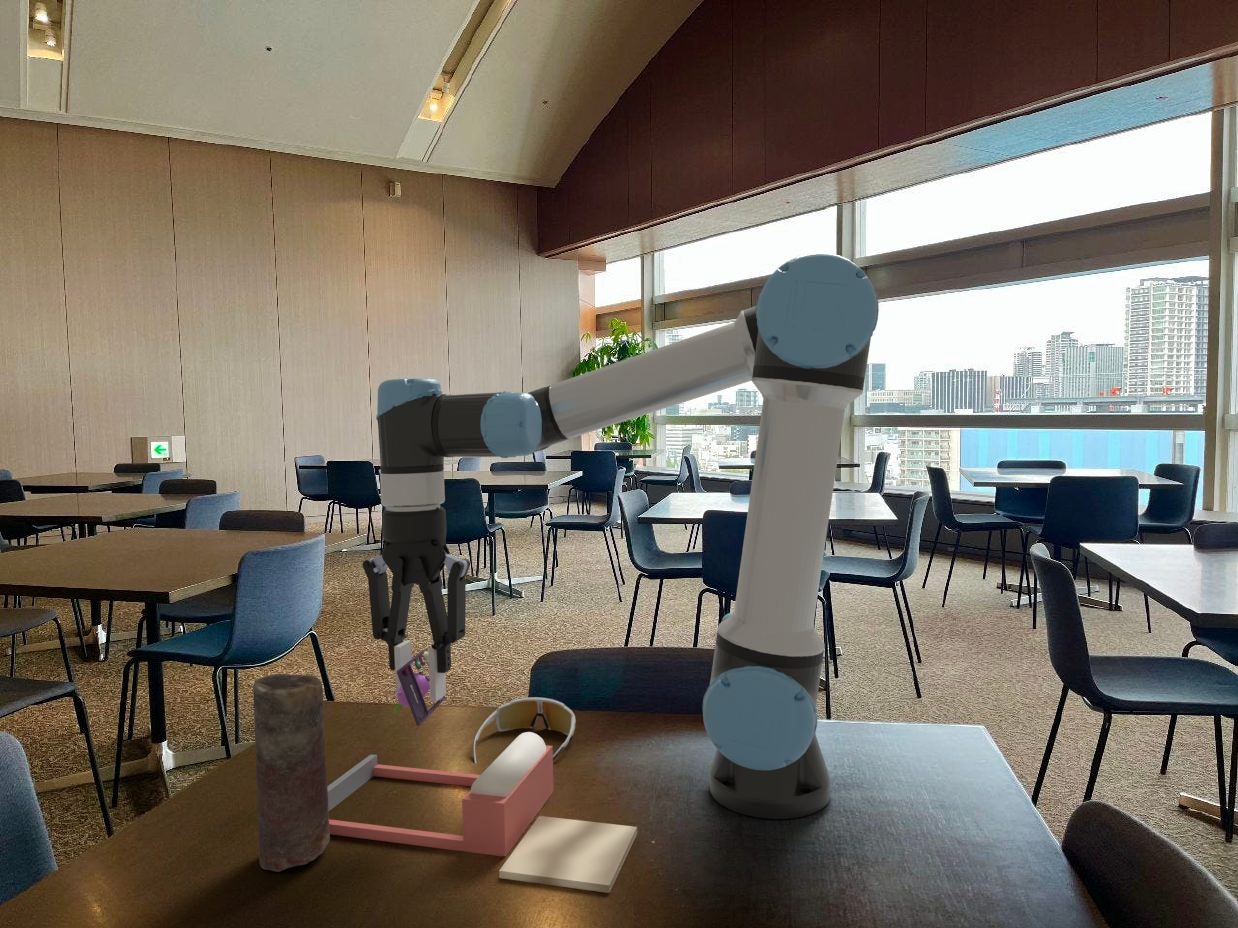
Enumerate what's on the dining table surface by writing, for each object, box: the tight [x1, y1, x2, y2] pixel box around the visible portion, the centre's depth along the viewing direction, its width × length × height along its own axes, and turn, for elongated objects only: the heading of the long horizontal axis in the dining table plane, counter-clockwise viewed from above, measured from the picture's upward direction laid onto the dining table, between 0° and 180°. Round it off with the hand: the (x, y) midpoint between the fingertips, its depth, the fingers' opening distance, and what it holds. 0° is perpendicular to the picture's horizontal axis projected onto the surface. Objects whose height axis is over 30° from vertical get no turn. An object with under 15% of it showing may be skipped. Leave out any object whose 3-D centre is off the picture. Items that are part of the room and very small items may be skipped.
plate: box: [498, 815, 638, 894], centre depth 89 cm, size 12×12×1 cm
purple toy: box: [392, 648, 446, 727], centre depth 97 cm, size 7×5×9 cm
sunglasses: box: [472, 696, 577, 765], centre depth 120 cm, size 14×15×5 cm
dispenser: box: [327, 731, 555, 858], centre depth 100 cm, size 26×16×8 cm, turn 75°
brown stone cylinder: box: [252, 673, 331, 873], centre depth 90 cm, size 8×7×20 cm
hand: (421, 696), depth 100 cm, fingers closed on purple toy, 4 cm apart
